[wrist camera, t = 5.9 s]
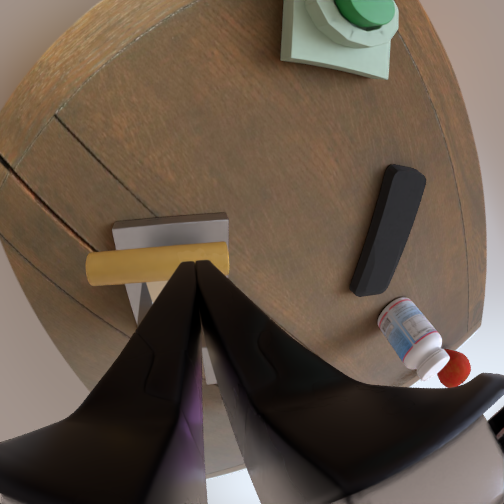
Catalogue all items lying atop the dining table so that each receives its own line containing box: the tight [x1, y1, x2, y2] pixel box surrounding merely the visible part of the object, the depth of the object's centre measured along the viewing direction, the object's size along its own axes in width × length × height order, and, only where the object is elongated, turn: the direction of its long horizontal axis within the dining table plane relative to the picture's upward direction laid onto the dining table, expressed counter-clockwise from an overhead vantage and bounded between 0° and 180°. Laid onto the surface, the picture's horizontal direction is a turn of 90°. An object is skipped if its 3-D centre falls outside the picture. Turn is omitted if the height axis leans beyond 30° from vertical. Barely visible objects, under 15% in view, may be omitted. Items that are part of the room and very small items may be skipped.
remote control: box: [350, 164, 426, 297], centre depth 27 cm, size 5×2×15 cm
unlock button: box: [335, 0, 395, 27], centre depth 11 cm, size 4×4×2 cm
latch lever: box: [86, 241, 229, 303], centre depth 15 cm, size 11×6×2 cm, turn 177°
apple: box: [437, 349, 471, 388], centre depth 48 cm, size 9×8×11 cm
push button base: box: [280, 0, 398, 80], centre depth 13 cm, size 10×8×4 cm
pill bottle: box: [378, 297, 450, 381], centre depth 31 cm, size 6×6×11 cm
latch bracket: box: [112, 213, 229, 384], centre depth 20 cm, size 12×9×10 cm
